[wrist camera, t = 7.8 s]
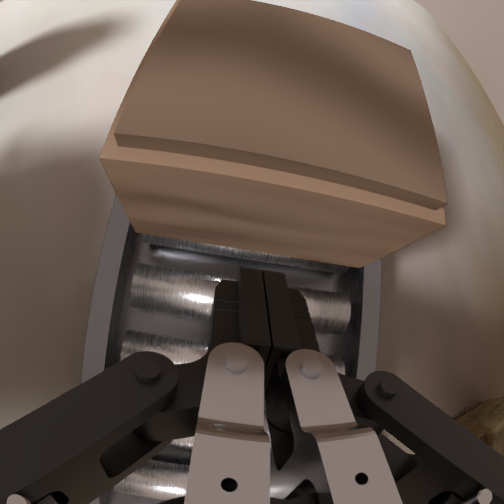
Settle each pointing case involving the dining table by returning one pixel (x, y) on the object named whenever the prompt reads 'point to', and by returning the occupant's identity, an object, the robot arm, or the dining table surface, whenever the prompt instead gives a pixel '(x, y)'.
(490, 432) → the stone block
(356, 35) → the brown wooden block
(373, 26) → the dining table surface
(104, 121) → the dining table surface
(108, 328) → the roller track
